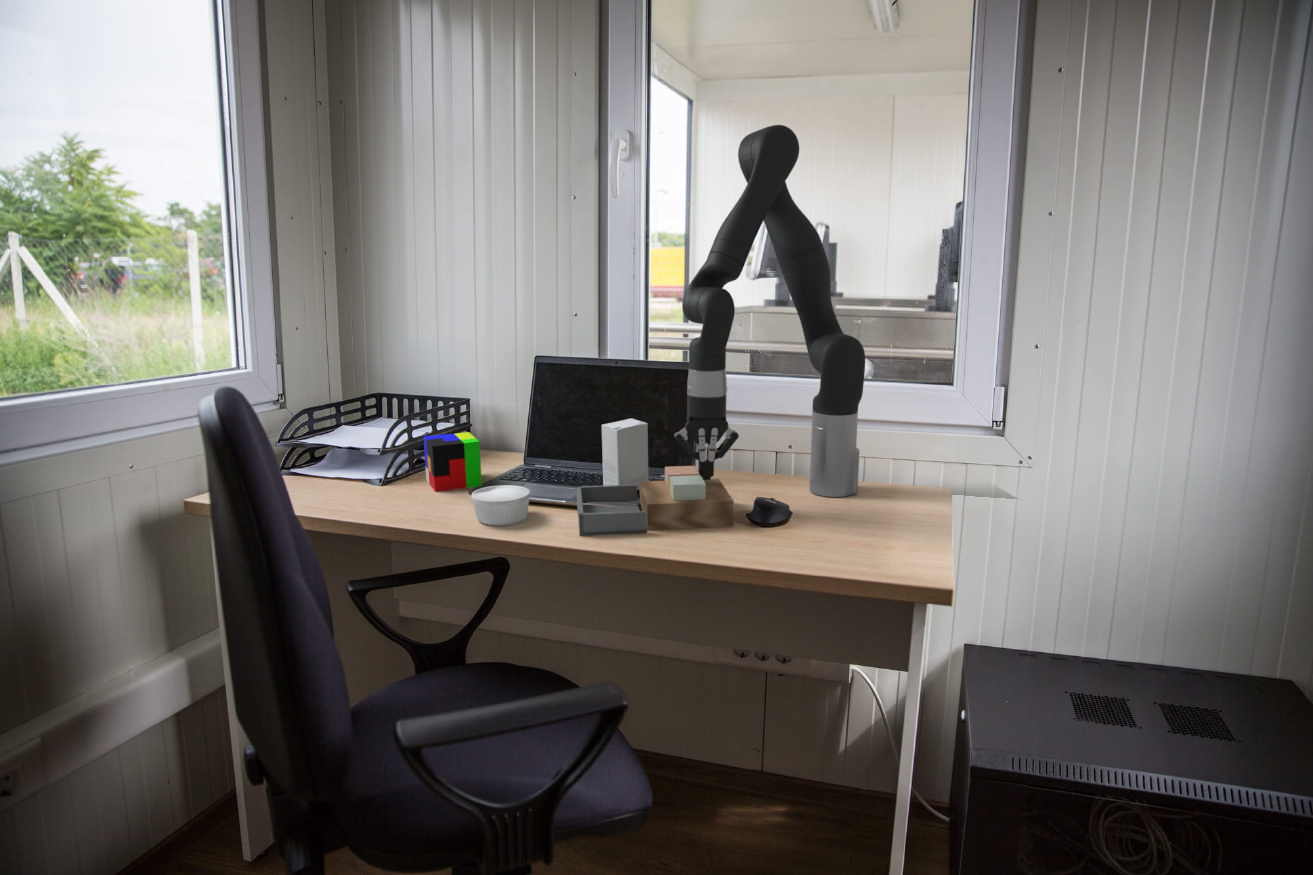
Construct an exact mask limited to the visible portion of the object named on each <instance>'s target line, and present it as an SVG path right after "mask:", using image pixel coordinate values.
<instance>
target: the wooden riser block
mask: <svg viewBox="0 0 1313 875" xmlns="http://www.w3.org/2000/svg"><path fill="white" fill-rule="evenodd" d="M704 482H705V484H706V497H705V500H681V501H673V499H672V496H671V494H670V492H669V490H668V487H667V485H666V483H665V480H648V481H641V482H640V491H639V506H640V505H641V507H640V509H641V508H642V511H645V512H646V529H647V530H646V531H660V530H685V529H707V528H709V529H711V528H712V529H713V528H727V527H728V528H729V527H730V528H733V527H734V504H735V502H734V500H733V498H732V497H731V495H730V493H729V492H728V490H727V489H726V487H725V486H724V485H723V484H724V483H722V482H721V480H720V478H711V479H710V480H704Z"/></svg>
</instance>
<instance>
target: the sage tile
mask: <svg viewBox="0 0 1313 875" xmlns="http://www.w3.org/2000/svg"><path fill="white" fill-rule="evenodd" d="M669 492H670V494H671V496H672V499H673V501H681V500H705V497H706V484H705V482H704V480H703V479H702V477H701V475H693V476H669Z"/></svg>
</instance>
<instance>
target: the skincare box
mask: <svg viewBox="0 0 1313 875" xmlns="http://www.w3.org/2000/svg"><path fill="white" fill-rule="evenodd" d="M648 425H649V423H647V422H645V421H641V420H637V419H636V418H627V419H623V420H617V421H613V422H608V423H604V424H601V448H602V450H601V451H602V482H603V484H602V486H606V485H633V484H637V490H640V482H641V481H649V441H648V440H649V439H648V438H649V436H648V434H649V433H648V430H649V429H648V428H649V426H648Z"/></svg>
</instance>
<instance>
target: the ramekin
mask: <svg viewBox="0 0 1313 875" xmlns="http://www.w3.org/2000/svg"><path fill="white" fill-rule="evenodd" d="M530 498H531V491H530V489H529V488H526V487H524V486H520V485H511V484H509V485H508V484H507V485H505V484H503V485H492V486H486V487H481V488H479V489H477V490H474V491H473V492H472V493H471V501H472V502H473V507H474V513H475V517H476V519H477V520H478V521H479V522H480V523H481V522H482V523H481V524H483V523H484V525H487V524H488V525H487V526H494V525H495V527H496V525H497V526H499V527H500V526H502V527H503V526H509V525H515V524H518V523H520V522H523V521H524V520H525V519H526V518H527V516H528V512H529V506H530Z"/></svg>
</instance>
